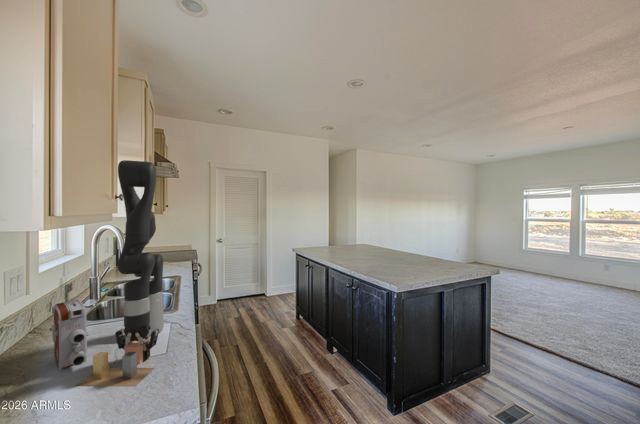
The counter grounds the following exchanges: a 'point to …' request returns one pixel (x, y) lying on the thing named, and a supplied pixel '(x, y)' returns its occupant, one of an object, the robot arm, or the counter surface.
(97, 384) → the board
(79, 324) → the cine camera
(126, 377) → the steel post
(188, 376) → the counter surface
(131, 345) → the peach foam brick
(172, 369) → the counter surface
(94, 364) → the brass post
